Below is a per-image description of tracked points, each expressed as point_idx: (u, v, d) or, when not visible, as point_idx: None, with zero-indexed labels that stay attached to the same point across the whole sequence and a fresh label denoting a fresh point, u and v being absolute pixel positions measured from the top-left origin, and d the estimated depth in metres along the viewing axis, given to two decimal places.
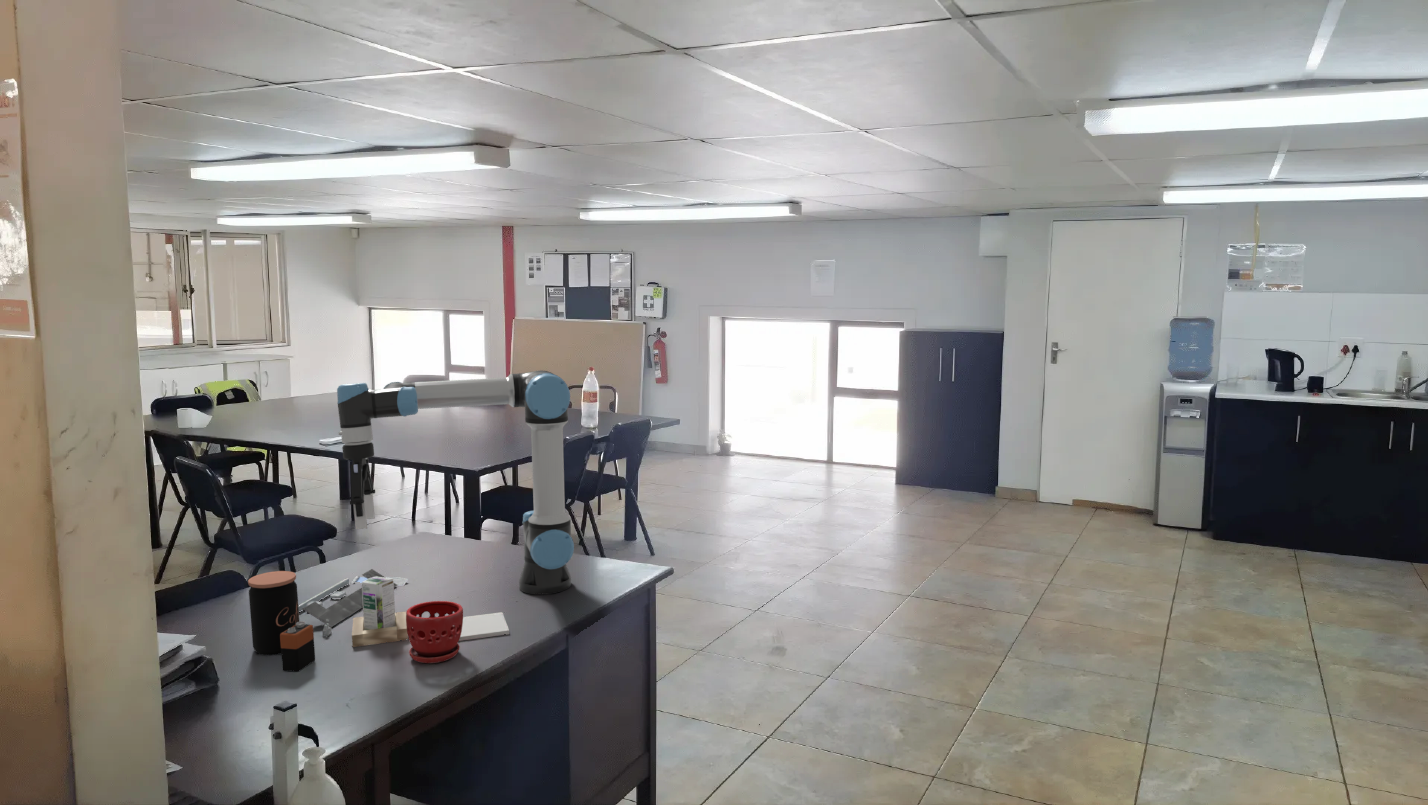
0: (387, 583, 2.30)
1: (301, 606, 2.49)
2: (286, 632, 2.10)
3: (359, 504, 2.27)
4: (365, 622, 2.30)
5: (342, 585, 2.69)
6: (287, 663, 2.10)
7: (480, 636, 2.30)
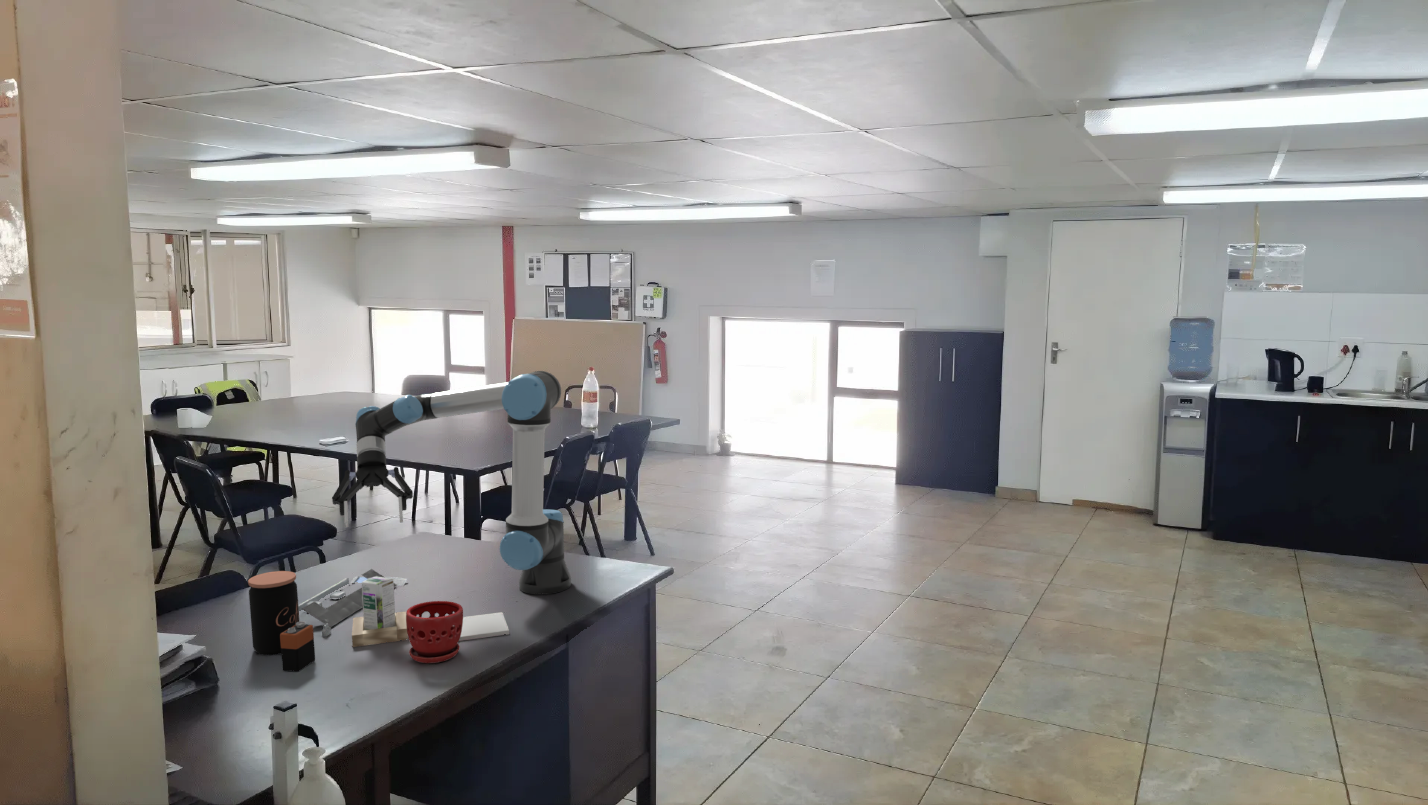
0: (387, 583, 2.30)
1: (301, 606, 2.49)
2: (286, 632, 2.10)
3: (339, 503, 2.40)
4: (365, 622, 2.30)
5: (342, 585, 2.69)
6: (287, 663, 2.10)
7: (480, 636, 2.30)
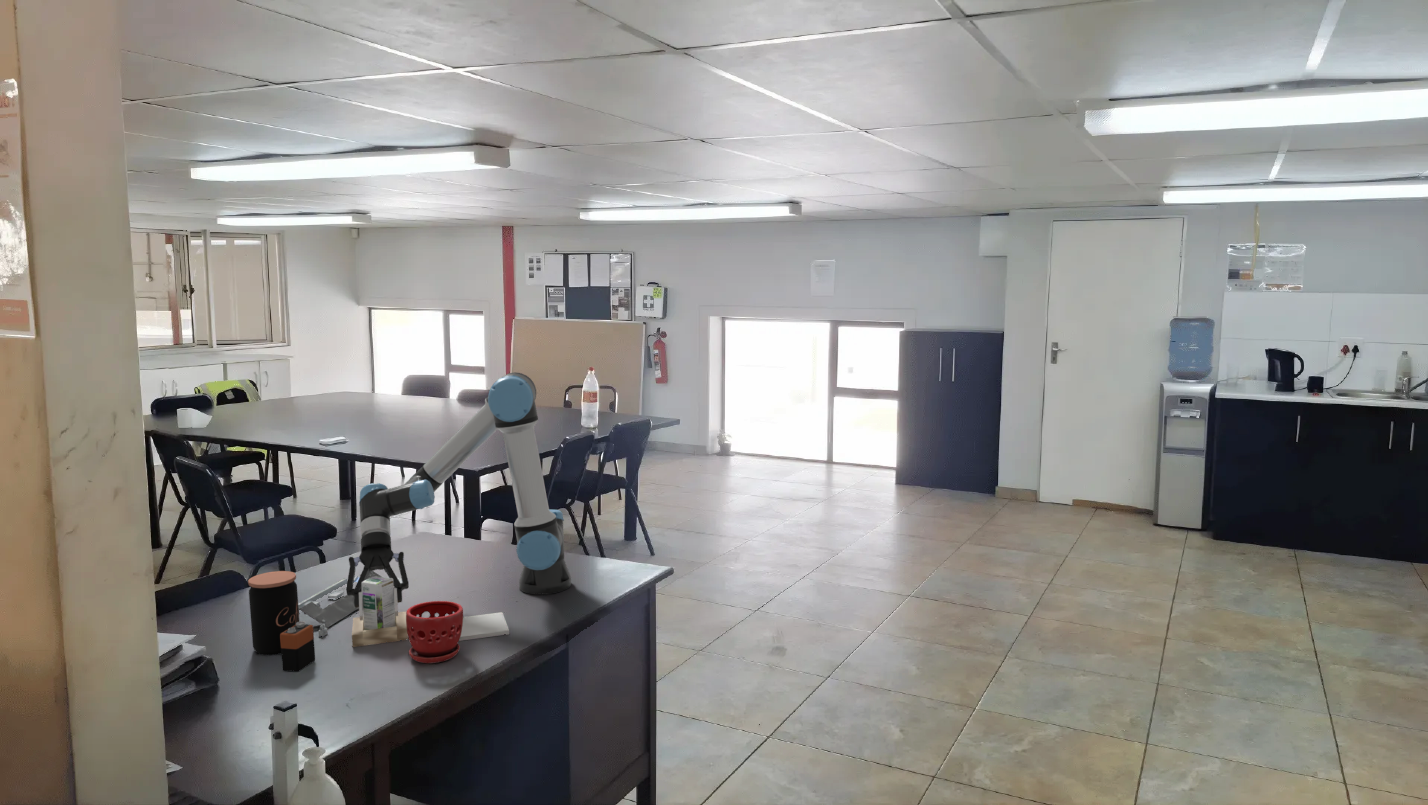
0: (386, 583, 2.30)
1: (298, 606, 2.49)
2: (286, 632, 2.10)
3: (353, 594, 2.30)
4: (365, 622, 2.30)
5: (340, 585, 2.69)
6: (287, 663, 2.10)
7: (480, 636, 2.30)
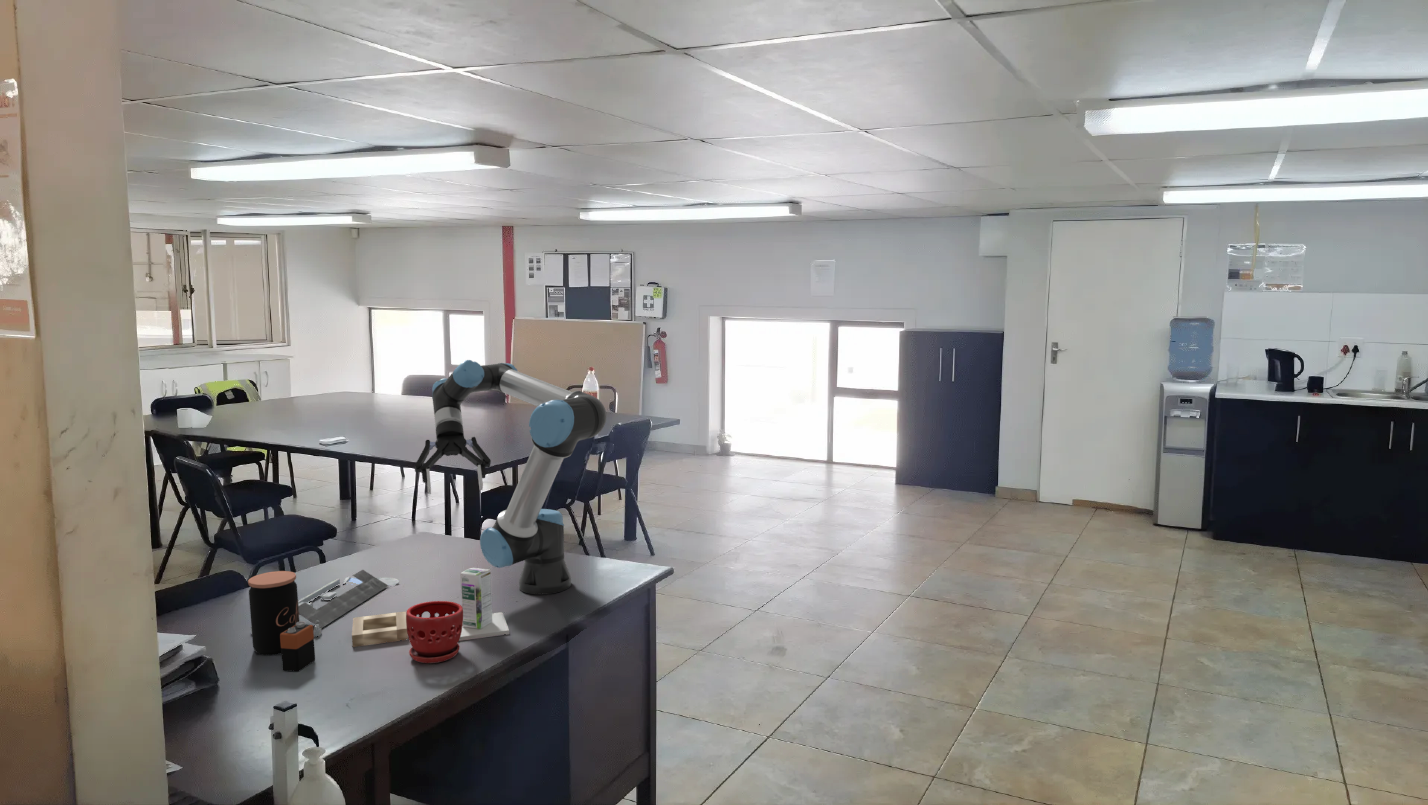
0: (485, 574, 2.34)
1: None
2: (286, 632, 2.10)
3: (421, 471, 2.47)
4: (463, 612, 2.34)
5: (333, 586, 2.68)
6: (287, 663, 2.10)
7: (480, 636, 2.30)
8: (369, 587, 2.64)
